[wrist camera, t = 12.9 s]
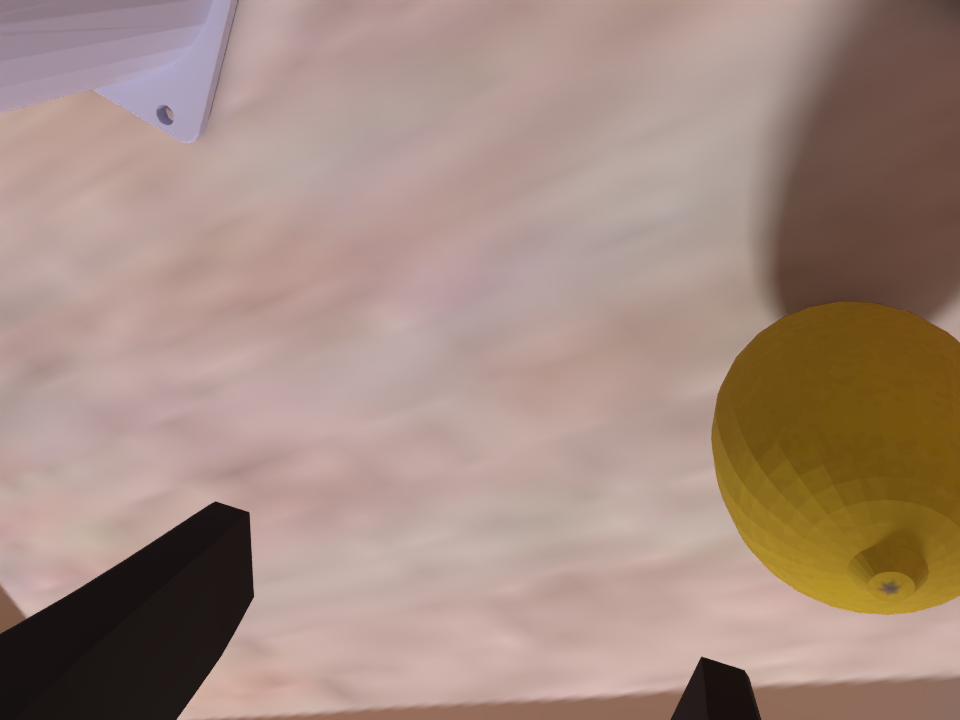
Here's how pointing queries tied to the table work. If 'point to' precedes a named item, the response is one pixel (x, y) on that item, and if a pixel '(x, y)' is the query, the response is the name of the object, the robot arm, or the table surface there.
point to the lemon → (847, 456)
